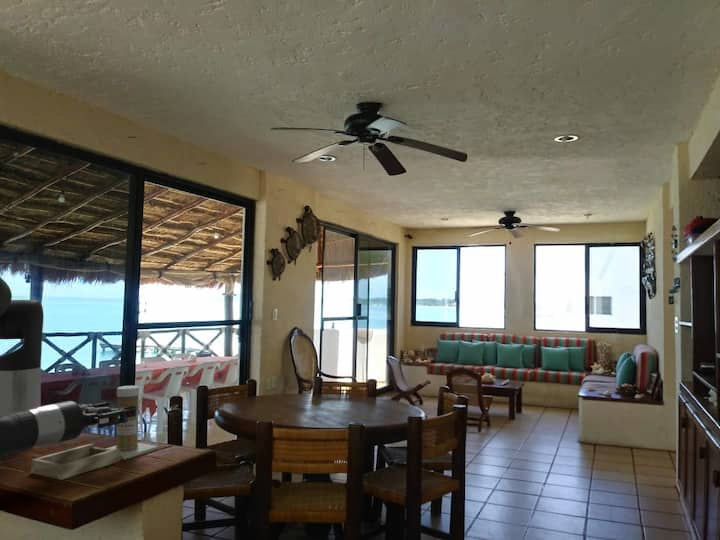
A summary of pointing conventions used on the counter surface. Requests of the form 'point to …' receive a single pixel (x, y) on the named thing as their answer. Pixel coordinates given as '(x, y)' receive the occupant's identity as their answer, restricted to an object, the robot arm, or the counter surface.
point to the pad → (136, 450)
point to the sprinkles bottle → (127, 419)
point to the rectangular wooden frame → (74, 461)
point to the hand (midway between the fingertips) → (121, 408)
